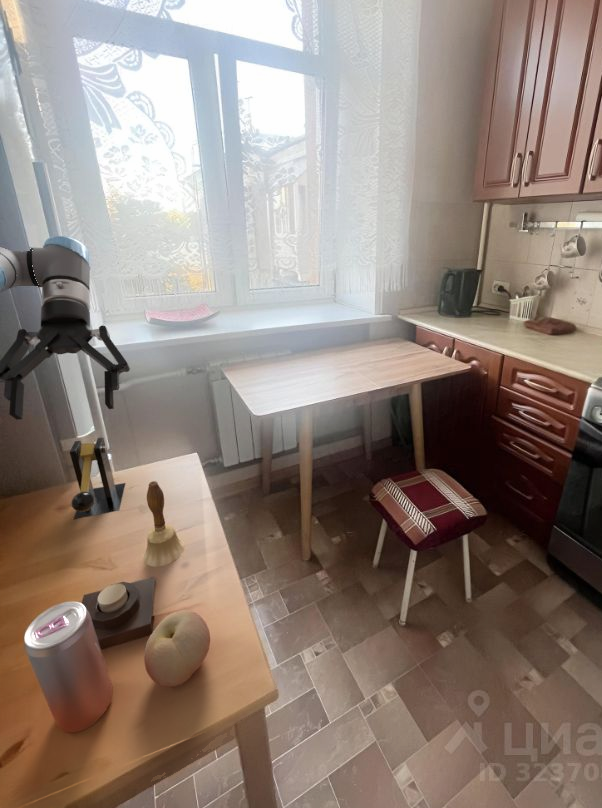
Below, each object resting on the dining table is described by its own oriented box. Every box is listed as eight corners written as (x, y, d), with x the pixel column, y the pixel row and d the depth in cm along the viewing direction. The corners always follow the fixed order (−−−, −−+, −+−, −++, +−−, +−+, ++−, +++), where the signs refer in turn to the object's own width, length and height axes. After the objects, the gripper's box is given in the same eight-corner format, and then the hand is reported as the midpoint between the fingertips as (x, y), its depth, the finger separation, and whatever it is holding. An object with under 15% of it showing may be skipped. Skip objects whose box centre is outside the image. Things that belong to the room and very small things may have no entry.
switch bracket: (120, 515, 81) (105, 453, 76) (74, 524, 78) (55, 461, 73) (126, 487, 90) (113, 430, 84) (85, 494, 87) (69, 435, 81)
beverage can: (52, 706, 49) (18, 622, 44) (106, 671, 53) (81, 590, 47) (62, 748, 45) (25, 662, 40) (120, 708, 49) (94, 624, 44)
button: (97, 616, 57) (95, 607, 56) (102, 596, 60) (99, 587, 59) (126, 608, 58) (124, 599, 57) (129, 589, 61) (127, 580, 60)
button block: (72, 659, 54) (65, 639, 53) (86, 604, 62) (80, 586, 61) (152, 634, 58) (148, 615, 57) (156, 586, 66) (153, 568, 64)
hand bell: (184, 533, 77) (172, 464, 71) (194, 561, 71) (182, 488, 65) (136, 550, 73) (120, 478, 67) (142, 582, 66) (125, 505, 60)
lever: (96, 512, 73) (91, 503, 71) (73, 517, 72) (67, 508, 70) (102, 449, 82) (97, 439, 79) (81, 452, 81) (76, 442, 78)
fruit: (142, 662, 54) (132, 621, 51) (201, 628, 59) (194, 589, 56) (158, 713, 49) (148, 671, 46) (221, 671, 54) (215, 630, 51)
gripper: (-28, 299, 68) (-42, 413, 61) (135, 295, 77) (140, 394, 70) (-6, 322, 74) (-16, 428, 67) (142, 316, 84) (148, 409, 76)
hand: (64, 411), depth 68 cm, fingers open, 13 cm apart
